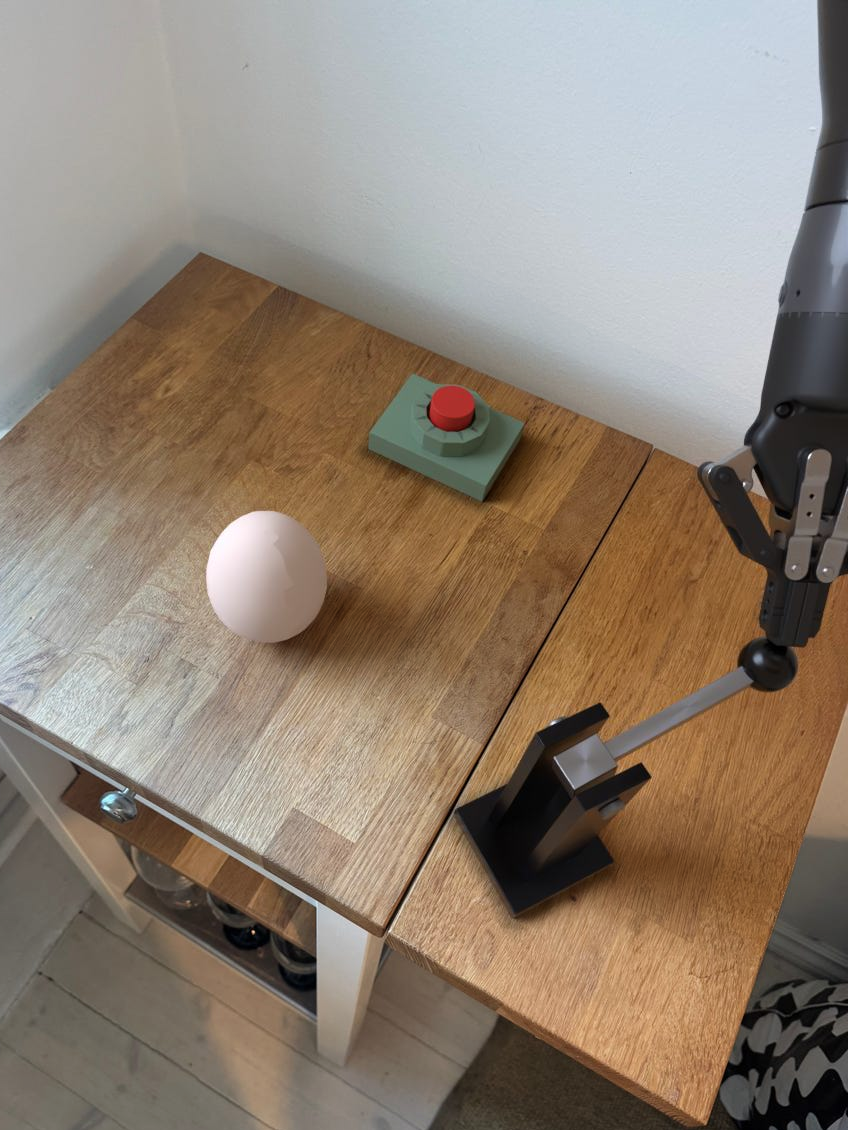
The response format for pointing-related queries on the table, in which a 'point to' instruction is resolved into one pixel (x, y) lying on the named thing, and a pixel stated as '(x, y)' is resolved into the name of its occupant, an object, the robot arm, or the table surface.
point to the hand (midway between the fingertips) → (785, 642)
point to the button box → (445, 440)
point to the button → (452, 408)
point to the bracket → (546, 819)
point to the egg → (266, 577)
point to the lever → (676, 715)
